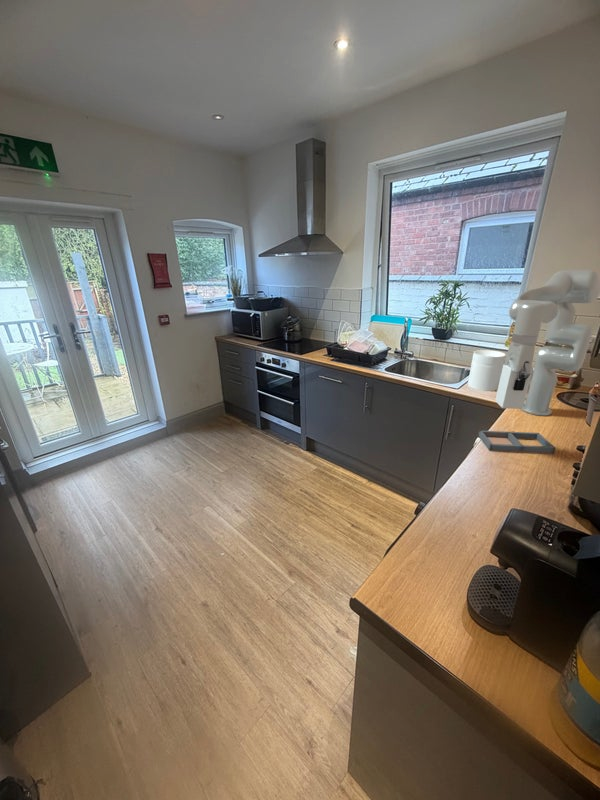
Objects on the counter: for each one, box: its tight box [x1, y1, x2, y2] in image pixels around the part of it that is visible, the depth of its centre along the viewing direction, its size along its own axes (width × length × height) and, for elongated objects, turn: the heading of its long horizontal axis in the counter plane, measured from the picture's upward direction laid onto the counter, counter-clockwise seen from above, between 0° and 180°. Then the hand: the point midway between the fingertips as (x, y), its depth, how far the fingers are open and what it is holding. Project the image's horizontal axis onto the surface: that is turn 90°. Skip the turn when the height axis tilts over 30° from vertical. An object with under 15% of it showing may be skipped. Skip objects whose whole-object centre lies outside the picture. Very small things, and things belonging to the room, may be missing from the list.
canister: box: [467, 349, 507, 392], centre depth 188 cm, size 16×16×20 cm
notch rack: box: [477, 430, 557, 455], centre depth 130 cm, size 12×23×2 cm, turn 82°
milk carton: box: [495, 357, 534, 410], centre depth 121 cm, size 7×7×19 cm
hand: (513, 386), depth 122 cm, fingers closed on milk carton, 7 cm apart
